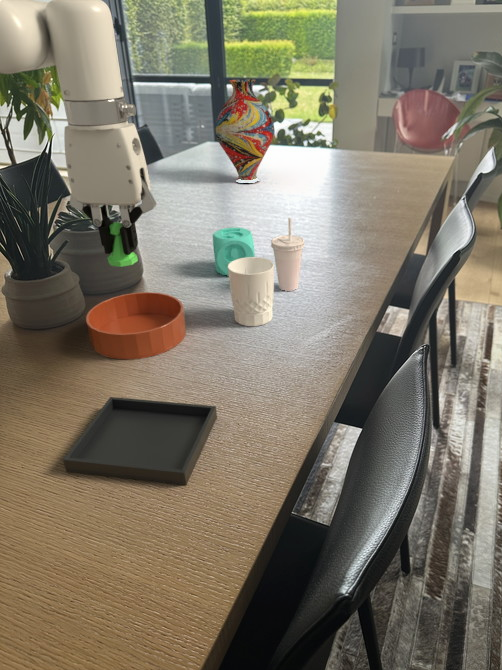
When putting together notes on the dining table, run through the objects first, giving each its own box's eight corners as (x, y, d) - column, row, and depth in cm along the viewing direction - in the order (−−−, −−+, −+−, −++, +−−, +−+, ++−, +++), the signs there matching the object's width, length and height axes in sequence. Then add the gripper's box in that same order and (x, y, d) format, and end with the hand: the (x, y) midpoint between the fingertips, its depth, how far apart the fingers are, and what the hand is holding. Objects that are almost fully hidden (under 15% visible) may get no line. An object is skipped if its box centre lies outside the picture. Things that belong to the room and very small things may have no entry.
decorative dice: (251, 261, 122) (249, 225, 118) (255, 275, 115) (253, 237, 111) (215, 264, 121) (211, 228, 117) (217, 278, 114) (214, 241, 110)
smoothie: (293, 297, 106) (292, 225, 98) (266, 290, 109) (263, 219, 101) (310, 285, 110) (311, 215, 103) (283, 279, 113) (282, 211, 106)
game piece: (136, 266, 80) (129, 225, 77) (105, 267, 80) (98, 226, 76) (139, 255, 84) (133, 216, 80) (110, 256, 83) (103, 217, 80)
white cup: (268, 305, 103) (266, 254, 97) (281, 324, 96) (280, 270, 91) (227, 312, 101) (222, 260, 95) (237, 331, 94) (234, 277, 89)
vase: (207, 183, 182) (198, 82, 166) (242, 172, 195) (237, 76, 179) (253, 191, 173) (247, 84, 157) (286, 178, 186) (285, 78, 170)
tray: (66, 471, 65) (62, 459, 64) (112, 407, 76) (110, 396, 75) (186, 485, 63) (184, 473, 62) (217, 417, 74) (215, 406, 73)
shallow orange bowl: (74, 355, 89) (68, 331, 86) (115, 312, 102) (111, 290, 99) (167, 362, 86) (163, 337, 84) (197, 317, 99) (195, 294, 97)
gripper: (165, 110, 73) (181, 244, 83) (53, 109, 75) (82, 240, 85) (145, 118, 67) (164, 263, 76) (23, 117, 69) (58, 258, 79)
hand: (121, 250), depth 81 cm, fingers closed on game piece, 2 cm apart
